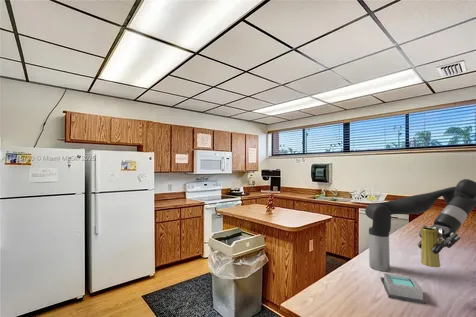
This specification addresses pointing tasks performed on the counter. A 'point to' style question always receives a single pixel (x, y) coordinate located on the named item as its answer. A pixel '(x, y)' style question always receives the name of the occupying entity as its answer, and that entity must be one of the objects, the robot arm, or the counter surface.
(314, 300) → the counter surface
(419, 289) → the grey tray
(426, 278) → the counter surface
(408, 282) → the plate
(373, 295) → the counter surface
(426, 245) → the vase
